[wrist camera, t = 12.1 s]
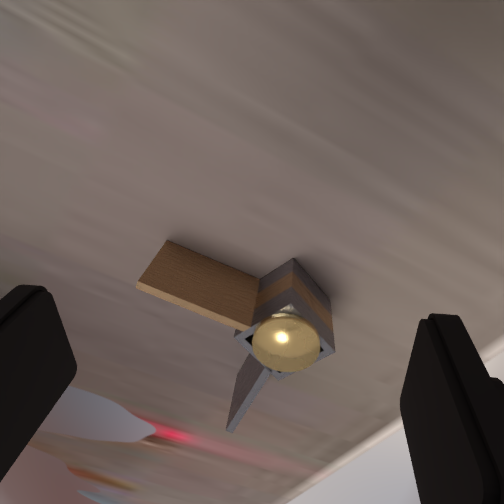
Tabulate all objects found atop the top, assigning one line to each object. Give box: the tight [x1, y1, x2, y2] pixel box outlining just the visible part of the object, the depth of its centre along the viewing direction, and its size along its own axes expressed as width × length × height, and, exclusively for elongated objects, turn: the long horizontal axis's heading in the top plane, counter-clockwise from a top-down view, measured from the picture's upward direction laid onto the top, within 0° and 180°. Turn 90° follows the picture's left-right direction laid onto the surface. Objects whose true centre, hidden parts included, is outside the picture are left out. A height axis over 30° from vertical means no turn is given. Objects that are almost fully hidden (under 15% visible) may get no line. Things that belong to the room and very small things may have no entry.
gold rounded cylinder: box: [252, 313, 320, 372], centre depth 37 cm, size 6×6×8 cm
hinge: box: [136, 241, 335, 433], centre depth 39 cm, size 16×20×8 cm
